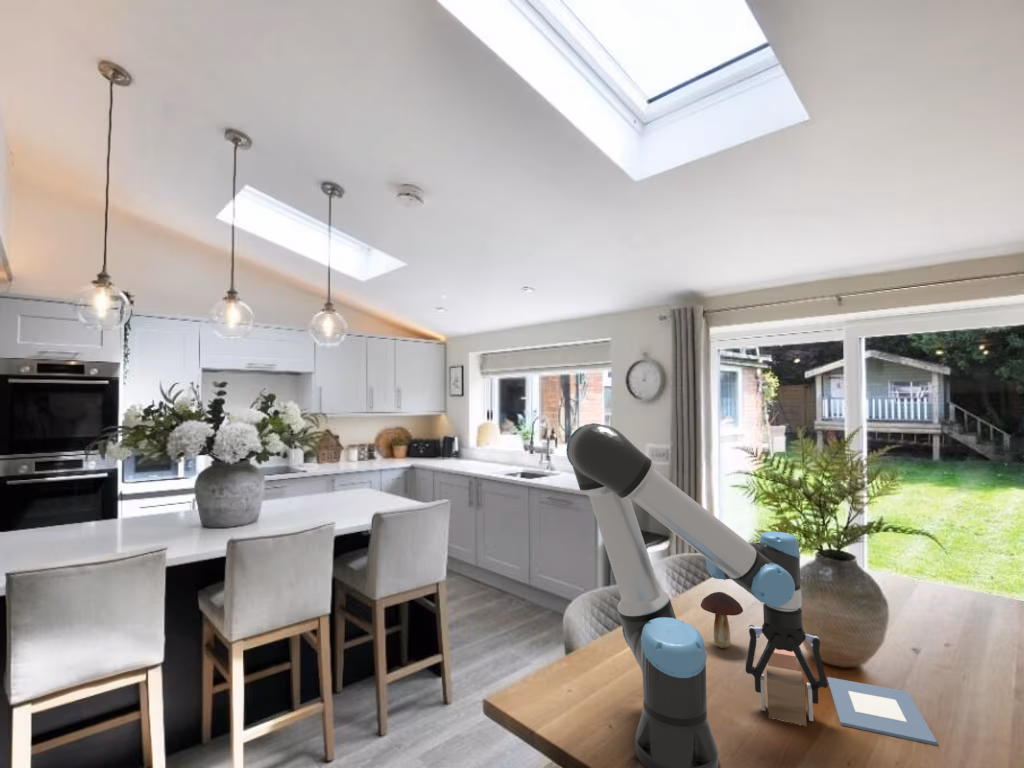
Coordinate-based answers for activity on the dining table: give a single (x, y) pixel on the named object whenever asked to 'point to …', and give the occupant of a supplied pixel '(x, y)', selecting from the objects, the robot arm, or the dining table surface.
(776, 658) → the terracotta block
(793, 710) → the walnut block
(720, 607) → the decorative mushroom
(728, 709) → the dining table surface
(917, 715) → the board
